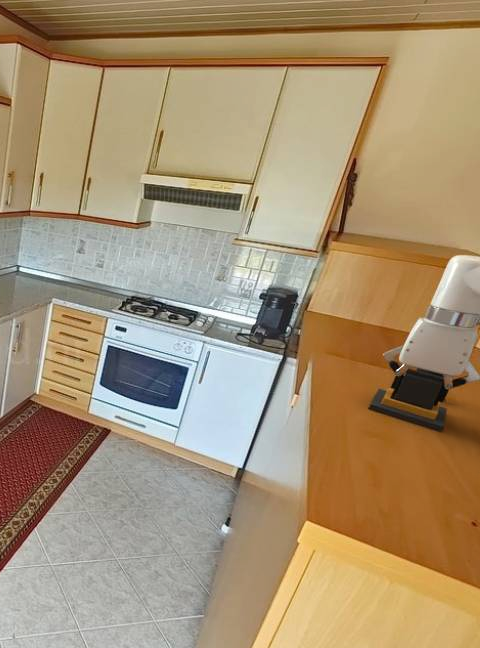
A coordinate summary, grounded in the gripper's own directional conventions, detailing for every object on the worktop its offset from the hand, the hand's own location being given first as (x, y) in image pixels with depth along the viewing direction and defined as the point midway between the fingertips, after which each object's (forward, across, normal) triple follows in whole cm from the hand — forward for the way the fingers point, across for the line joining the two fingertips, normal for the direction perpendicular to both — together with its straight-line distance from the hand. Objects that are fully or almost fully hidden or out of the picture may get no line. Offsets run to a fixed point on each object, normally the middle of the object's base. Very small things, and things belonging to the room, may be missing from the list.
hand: (414, 397), depth 105 cm
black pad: (+1, 0, 0) cm, 1 cm away
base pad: (+3, 0, 0) cm, 3 cm away
